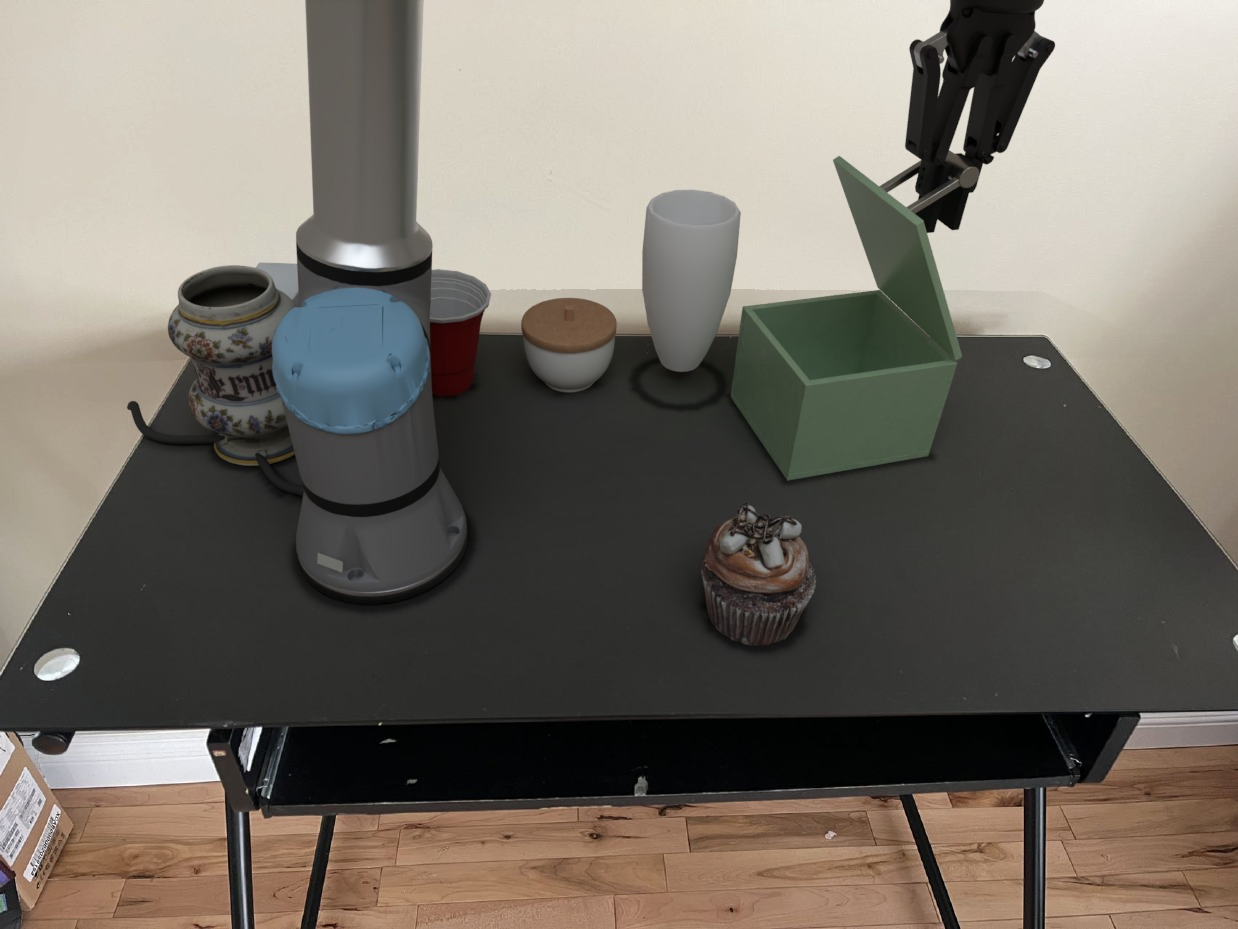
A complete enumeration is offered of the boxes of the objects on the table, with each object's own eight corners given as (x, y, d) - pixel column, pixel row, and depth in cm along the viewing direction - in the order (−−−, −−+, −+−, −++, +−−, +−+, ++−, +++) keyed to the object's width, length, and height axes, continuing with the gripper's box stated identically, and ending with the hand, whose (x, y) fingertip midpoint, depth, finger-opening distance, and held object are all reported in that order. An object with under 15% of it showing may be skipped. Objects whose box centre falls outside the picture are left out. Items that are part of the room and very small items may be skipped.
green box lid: (915, 225, 78) (1006, 168, 77) (832, 159, 90) (910, 109, 89) (955, 361, 90) (1035, 313, 89) (877, 287, 101) (947, 244, 100)
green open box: (787, 480, 93) (805, 385, 86) (730, 396, 105) (742, 306, 97) (928, 456, 97) (958, 363, 90) (858, 377, 109) (879, 289, 101)
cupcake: (688, 642, 76) (698, 557, 70) (705, 562, 84) (716, 479, 77) (802, 665, 75) (823, 580, 68) (810, 582, 82) (830, 498, 76)
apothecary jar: (291, 481, 90) (252, 324, 79) (180, 464, 92) (125, 307, 81) (342, 412, 100) (313, 263, 88) (240, 398, 101) (198, 249, 90)
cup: (615, 378, 107) (622, 203, 93) (677, 349, 112) (692, 179, 99) (678, 418, 101) (695, 238, 87) (740, 385, 107) (765, 211, 93)
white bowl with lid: (504, 382, 105) (500, 311, 100) (560, 344, 112) (560, 275, 106) (578, 415, 101) (578, 343, 95) (632, 373, 108) (635, 303, 102)
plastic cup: (479, 416, 100) (472, 321, 93) (386, 402, 102) (372, 307, 94) (508, 364, 108) (503, 273, 101) (422, 352, 110) (411, 261, 102)
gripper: (952, -37, 69) (886, 250, 84) (1117, -41, 73) (1025, 234, 87) (902, -55, 75) (847, 216, 89) (1056, -59, 78) (979, 203, 93)
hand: (935, 225), depth 88 cm, fingers closed on green box lid, 2 cm apart
